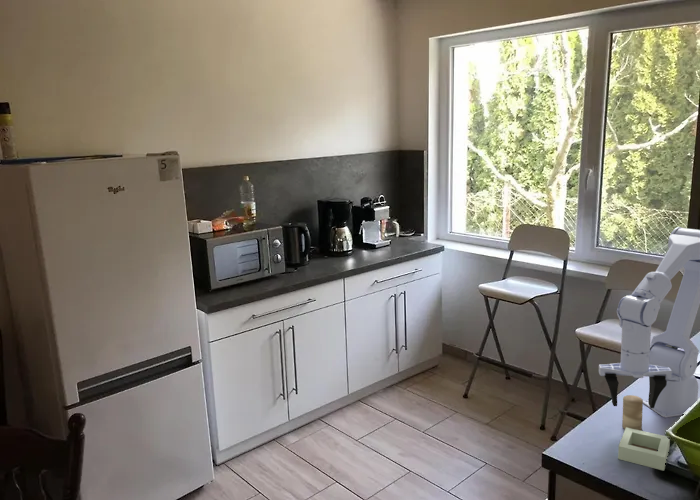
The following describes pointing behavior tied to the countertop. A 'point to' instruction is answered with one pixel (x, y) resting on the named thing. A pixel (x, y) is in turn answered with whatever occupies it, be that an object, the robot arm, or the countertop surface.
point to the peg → (632, 412)
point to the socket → (644, 448)
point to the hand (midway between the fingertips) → (632, 405)
